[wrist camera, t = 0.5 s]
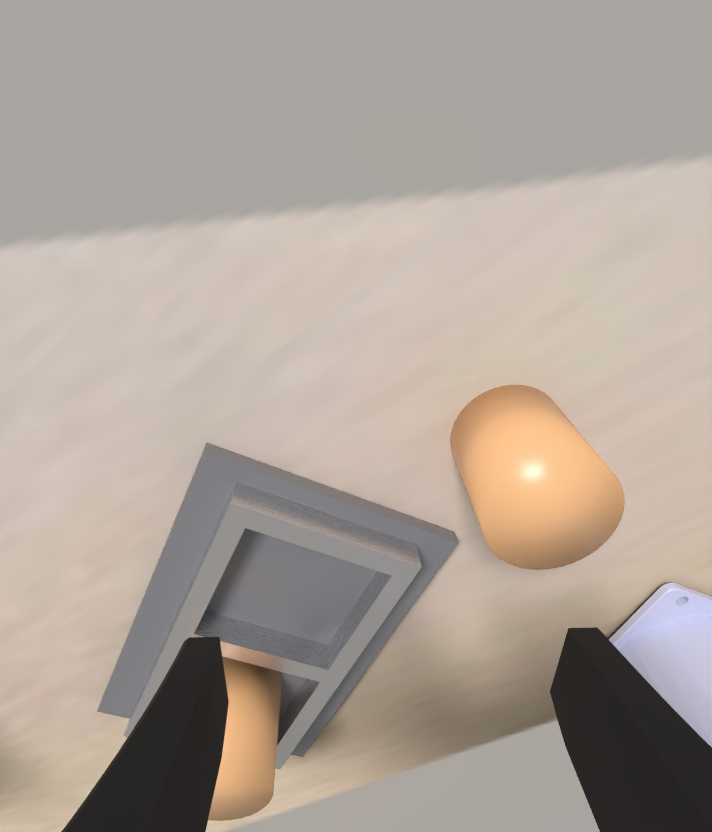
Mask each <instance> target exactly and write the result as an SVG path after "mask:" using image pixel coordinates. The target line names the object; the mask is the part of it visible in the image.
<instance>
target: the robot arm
mask: <svg viewBox="0 0 712 832" xmlns="http://www.w3.org/2000/svg"><path fill="white" fill-rule="evenodd" d="M550 693H551V697H552V701H553V704H554V708H555V712H556V715H557V719H558V722H559V726H560V729H561V732H562V736H563V739H564V742H565V746H566V748H567V751H568V753H569V756H570V758H571V761H572V763H573V766H574V768H575V771H576V773H577V776H578V778H579V781H580V783H581V786H582V788H583V791H584V793H585V796H586V798H587V800H588V803H589V805H590V808H591V810H592V813H593V815H594V818H595V820H596V823H597V825H598V828H599V830H600V832H712V597H711V596H708V595H706V594H703V593H701V592H698V591H695V590H693V589H690V588H687V587H685V586H682V585H679V584H677V583H667V584H664V585H663V586H661V587H660V588H659V589H658V590H657V591H656V592H655V593H654V594H653V595H652V596H651V597H650V598H649V599H648V600H647V601H646V602H645V603H644V604H643V605H642V606H641V607H640V608H639V609H638V610H637V611H636V612H635V613H634V614H633V615H632V616H631V617H630V618H629V619H628V620H627V621H626V622H625V623H624V625H623V626H622V627H621V628H620V629H619V630H618V631H617V632H616V633H615V634H614V635H613V636H612V637H611V638H610V639H609V640H608V638H607V637H606V636H605V635H604V634H603V633H602V632H601V631H600V630H599V629H598V628H568V632H567V635H566V639H565V642H564V646H563V649H562V653H561V656H560V659H559V663H558V666H557V670H556V673H555V677H554V680H553V683H552V687H551V690H550ZM228 704H229V699H228V693H227V686H226V679H225V672H224V665H223V658H222V651H221V645H220V638H219V637H189V638H188V639H186V640H185V641H184V642H183V644H182V646H181V648H180V650H179V652H178V654H177V656H176V658H175V660H174V662H173V663H172V665H171V667H170V669H169V671H168V672H167V674H166V676H165V678H164V680H163V681H162V683H161V685H160V686H159V688H158V690H157V691H156V693H155V695H154V697H153V698H152V700H151V702H150V703H149V705H148V707H147V708H146V710H145V711H144V713H143V715H142V716H141V718H140V719H139V721H138V722H137V724H136V726H135V727H134V729H133V730H132V732H131V733H130V735H129V737H128V738H127V740H126V741H125V743H124V744H123V746H122V747H121V749H120V750H119V752H118V753H117V755H116V756H115V758H114V759H113V761H112V762H111V764H110V765H109V767H108V768H107V769H106V771H105V772H104V774H103V775H102V777H101V778H100V779H99V781H98V782H97V784H96V785H95V787H94V788H93V789H92V791H91V792H90V794H89V795H88V797H87V798H86V799H85V801H84V802H83V804H82V805H81V806H80V808H79V809H78V810H77V812H76V813H75V814H74V816H73V817H72V818H71V820H70V821H69V823H68V824H67V825H66V827H65V828H64V829H63V830H62V832H205V830H206V826H207V822H208V817H209V813H210V808H211V804H212V799H213V795H214V790H215V786H216V781H217V777H218V772H219V768H220V763H221V758H222V752H223V744H224V737H225V729H226V720H227V712H228Z"/></svg>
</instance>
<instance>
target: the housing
mask: <svg viewBox="0 0 712 832" xmlns="http://www.w3.org/2000/svg"><path fill="white" fill-rule="evenodd" d="M457 543H458V542H457V539H456V536H455V533H454V532H453V531H450V530H447V529H445V528H442V527H439V526H436V525H434V524H431V523H428V522H425V521H422V520H420V519H417V518H414V517H411V516H409V515H406V514H403V513H400V512H397V511H395V510H392V509H389V508H386V507H384V506H381V505H378V504H375V503H372V502H370V501H367V500H364V499H361V498H359V497H356V496H353V495H350V494H347V493H345V492H342V491H339V490H336V489H334V488H331V487H328V486H325V485H322V484H320V483H317V482H314V481H311V480H309V479H306V478H303V477H300V476H297V475H295V474H292V473H289V472H286V471H284V470H281V469H278V468H275V467H272V466H270V465H267V464H264V463H261V462H259V461H256V460H253V459H250V458H247V457H245V456H242V455H239V454H236V453H234V452H231V451H228V450H225V449H222V448H220V447H217V446H214V445H211V444H209V443H206V446H205V448H204V451H203V453H202V456H201V458H200V461H199V463H198V465H197V468H196V470H195V473H194V475H193V478H192V480H191V483H190V485H189V487H188V490H187V492H186V495H185V497H184V500H183V502H182V505H181V507H180V510H179V512H178V514H177V517H176V519H175V522H174V524H173V527H172V529H171V532H170V534H169V536H168V539H167V541H166V544H165V546H164V549H163V551H162V554H161V556H160V558H159V561H158V563H157V566H156V568H155V571H154V573H153V576H152V578H151V580H150V583H149V585H148V588H147V590H146V593H145V595H144V598H143V600H142V602H141V605H140V607H139V610H138V612H137V615H136V617H135V620H134V622H133V624H132V627H131V629H130V632H129V634H128V637H127V639H126V642H125V644H124V646H123V649H122V651H121V654H120V656H119V659H118V661H117V664H116V666H115V668H114V671H113V673H112V676H111V678H110V681H109V683H108V686H107V688H106V690H105V693H104V695H103V698H102V700H101V703H100V705H99V708H98V712H102V713H107V714H111V715H116V716H120V717H125V718H129V722H128V725H127V728H126V731H125V734H124V736H126V737H129V735H130V733H131V732H132V730H133V729H134V727H135V726H136V724H137V722H138V721H139V719H140V718H141V716H142V715H143V713H144V711H145V710H146V708H147V707H148V705H149V703H150V702H151V700H152V698H153V697H154V695H155V693H156V691H157V690H158V688H159V686H160V685H161V683H162V681H163V680H164V678H165V676H166V674H167V672H168V671H169V669H170V667H171V665H172V663H173V662H174V660H175V658H176V656H177V654H178V652H179V650H180V648H181V646H182V644H183V642H184V641H185V640H186V639H188V638H189V637H219V638H220V645H221V651H222V658H223V665H224V672H225V679H226V686H227V693H228V699H229V704H228V712H227V720H226V729H225V737H224V744H223V752H222V758H221V763H220V768H219V772H218V777H217V781H216V786H215V790H214V795H213V799H212V804H211V808H210V813H209V817H208V820H233V819H238V818H243V817H246V816H249V815H252V814H254V813H256V812H258V811H260V810H261V809H263V808H264V807H265V806H266V805H267V804H268V803H269V802H270V800H271V799H272V796H273V790H274V777H275V768H276V769H281V767H282V766H283V764H284V763H285V761H286V760H287V759H288V757H289V756H290V754H292V755H296V756H301V757H303V756H304V755H305V753H306V752H307V751H308V749H309V748H310V746H311V745H312V744H313V742H314V741H315V740H316V738H317V737H318V735H319V734H320V733H321V731H322V730H323V728H324V727H325V726H326V724H327V723H328V721H329V720H330V719H331V717H332V716H333V715H334V713H335V712H336V710H337V709H338V708H339V706H340V705H341V703H342V702H343V701H344V699H345V698H346V697H347V695H348V694H349V692H350V691H351V690H352V688H353V687H354V685H355V684H356V683H357V681H358V680H359V678H360V677H361V676H362V674H363V673H364V672H365V670H366V669H367V667H368V666H369V665H370V663H371V662H372V660H373V659H374V658H375V656H376V655H377V654H378V652H379V651H380V649H381V648H382V647H383V645H384V644H385V642H386V641H387V640H388V638H389V637H390V635H391V634H392V633H393V631H394V630H395V629H396V627H397V626H398V624H399V623H400V622H401V620H402V619H403V617H404V616H405V615H406V613H407V612H408V610H409V609H410V608H411V606H412V605H413V604H414V602H415V601H416V599H417V598H418V597H419V595H420V594H421V592H422V591H423V590H424V588H425V587H426V586H427V584H428V583H429V581H430V580H431V579H432V577H433V576H434V574H435V573H436V572H437V570H438V569H439V567H440V566H441V565H442V563H443V562H444V561H445V559H446V558H447V556H448V555H449V554H450V552H451V551H452V549H453V548H454V547H455V545H456V544H457Z"/></svg>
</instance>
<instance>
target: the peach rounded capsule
mask: <svg viewBox="0 0 712 832" xmlns="http://www.w3.org/2000/svg"><path fill="white" fill-rule="evenodd" d="M450 444H451V451H452V454H453V457H454V460H455V462H456V465H457V467H458V470H459V472H460V475H461V478H462V480H463V483H464V485H465V488H466V491H467V493H468V496H469V498H470V501H471V503H472V506H473V509H474V511H475V514H476V516H477V519H478V521H479V524H480V527H481V529H482V532H483V534H484V537H485V539H486V542H487V544H488V546H489V547H490V549H491V550H492V551H493V552H494V553H495V554H496V555H497V556H498V557H499V558H500V559H502V560H504V561H505V562H507V563H509V564H512V565H514V566H517V567H521V568H526V569H537V570H539V569H551V568H557V567H561V566H565V565H568V564H571V563H574V562H576V561H578V560H581V559H583V558H584V557H586V556H588V555H590V554H591V553H593V552H594V551H595V550H597V549H598V548H599V547H600V546H602V545H603V544H604V543H605V542H606V541H607V540H608V539H609V538H610V536H611V535H612V534H613V532H614V531H615V529H616V528H617V526H618V524H619V522H620V520H621V518H622V514H623V511H624V503H625V502H624V492H623V488H622V486H621V484H620V482H619V480H618V479H617V477H616V476H615V474H614V473H613V472H612V471H611V470H610V468H609V467H608V466H607V465H606V464H605V462H604V461H603V460H602V459H601V458H600V456H599V455H598V454H597V453H596V452H595V450H594V449H593V448H592V447H591V446H590V444H589V443H588V442H587V441H586V440H585V438H584V437H583V436H582V435H581V434H580V432H579V431H578V430H577V429H576V428H575V426H574V425H573V424H572V423H571V422H570V420H569V419H568V418H567V417H566V415H565V414H564V413H563V412H562V411H561V409H560V408H559V407H558V406H557V405H556V403H555V402H554V401H553V400H552V399H551V398H550V397H549V396H548V395H546V394H545V393H543V392H542V391H540V390H538V389H535V388H532V387H528V386H523V385H508V386H502V387H498V388H494V389H492V390H489V391H487V392H485V393H483V394H481V395H479V396H478V397H476V398H475V399H473V400H472V401H471V402H470V403H469V404H468V405H467V406H466V407H465V408H464V409H463V410H462V411H461V413H460V414H459V415H458V417H457V419H456V421H455V423H454V425H453V428H452V432H451V439H450Z"/></svg>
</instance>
